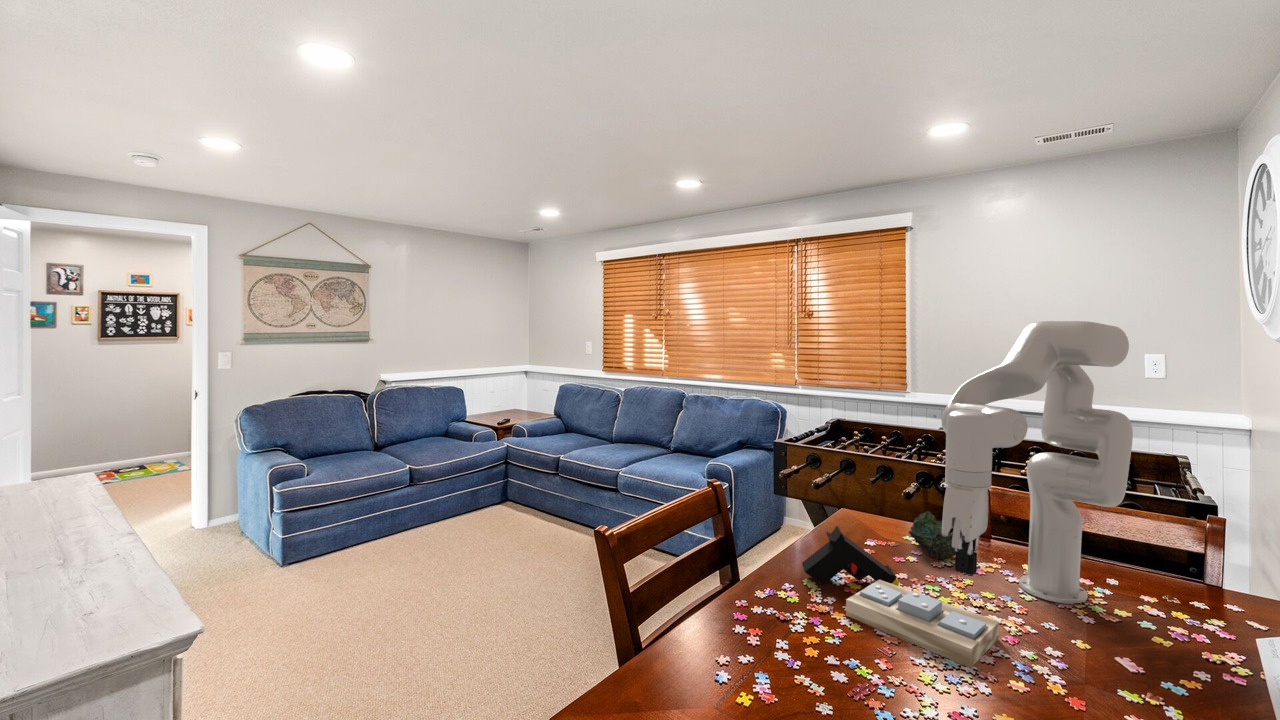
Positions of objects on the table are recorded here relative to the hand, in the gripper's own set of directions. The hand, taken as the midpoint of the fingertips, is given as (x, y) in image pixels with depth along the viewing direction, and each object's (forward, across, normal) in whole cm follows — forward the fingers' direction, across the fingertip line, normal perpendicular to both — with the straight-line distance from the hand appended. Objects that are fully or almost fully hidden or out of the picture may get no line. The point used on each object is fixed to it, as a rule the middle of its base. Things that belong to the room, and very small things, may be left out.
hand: (965, 571), depth 109 cm
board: (+14, +1, -8) cm, 16 cm away
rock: (+15, -39, -23) cm, 48 cm away
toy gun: (+14, -7, -28) cm, 32 cm away
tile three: (+12, +1, -16) cm, 20 cm away
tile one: (+12, +1, 0) cm, 12 cm away
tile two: (+11, +1, -8) cm, 14 cm away
